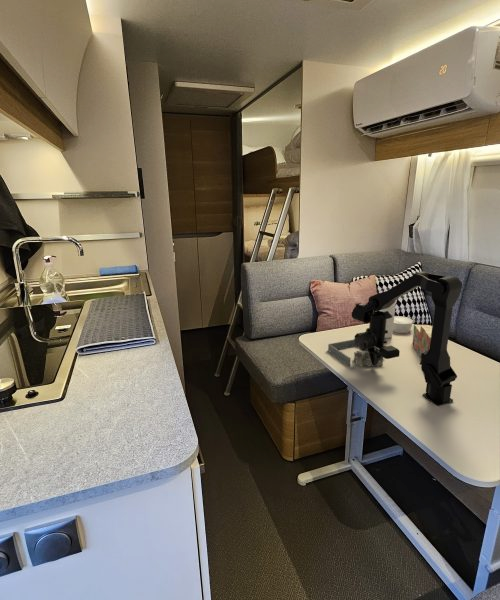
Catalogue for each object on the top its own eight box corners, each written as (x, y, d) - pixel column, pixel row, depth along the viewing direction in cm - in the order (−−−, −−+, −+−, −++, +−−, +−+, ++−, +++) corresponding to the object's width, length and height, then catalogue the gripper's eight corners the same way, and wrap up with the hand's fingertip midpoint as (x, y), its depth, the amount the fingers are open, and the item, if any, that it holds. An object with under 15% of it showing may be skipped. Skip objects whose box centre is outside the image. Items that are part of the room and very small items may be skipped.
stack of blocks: (411, 343, 153) (414, 317, 149) (427, 344, 151) (430, 318, 148) (425, 366, 133) (429, 336, 129) (443, 367, 131) (447, 337, 128)
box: (380, 358, 139) (381, 352, 138) (349, 365, 135) (349, 358, 134) (357, 344, 153) (357, 338, 152) (328, 350, 148) (328, 344, 147)
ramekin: (382, 330, 169) (383, 319, 168) (393, 324, 176) (394, 314, 175) (405, 336, 161) (406, 325, 160) (415, 329, 168) (417, 319, 167)
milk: (387, 333, 165) (392, 288, 159) (392, 338, 159) (397, 292, 153) (374, 333, 165) (378, 288, 159) (378, 338, 159) (383, 292, 153)
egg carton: (355, 366, 134) (356, 356, 133) (352, 357, 141) (353, 348, 140) (384, 367, 133) (385, 357, 132) (379, 358, 140) (380, 349, 139)
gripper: (344, 322, 133) (341, 358, 138) (376, 339, 116) (372, 380, 121) (367, 318, 137) (365, 354, 141) (402, 334, 120) (398, 374, 124)
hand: (374, 365), depth 132 cm, fingers closed
